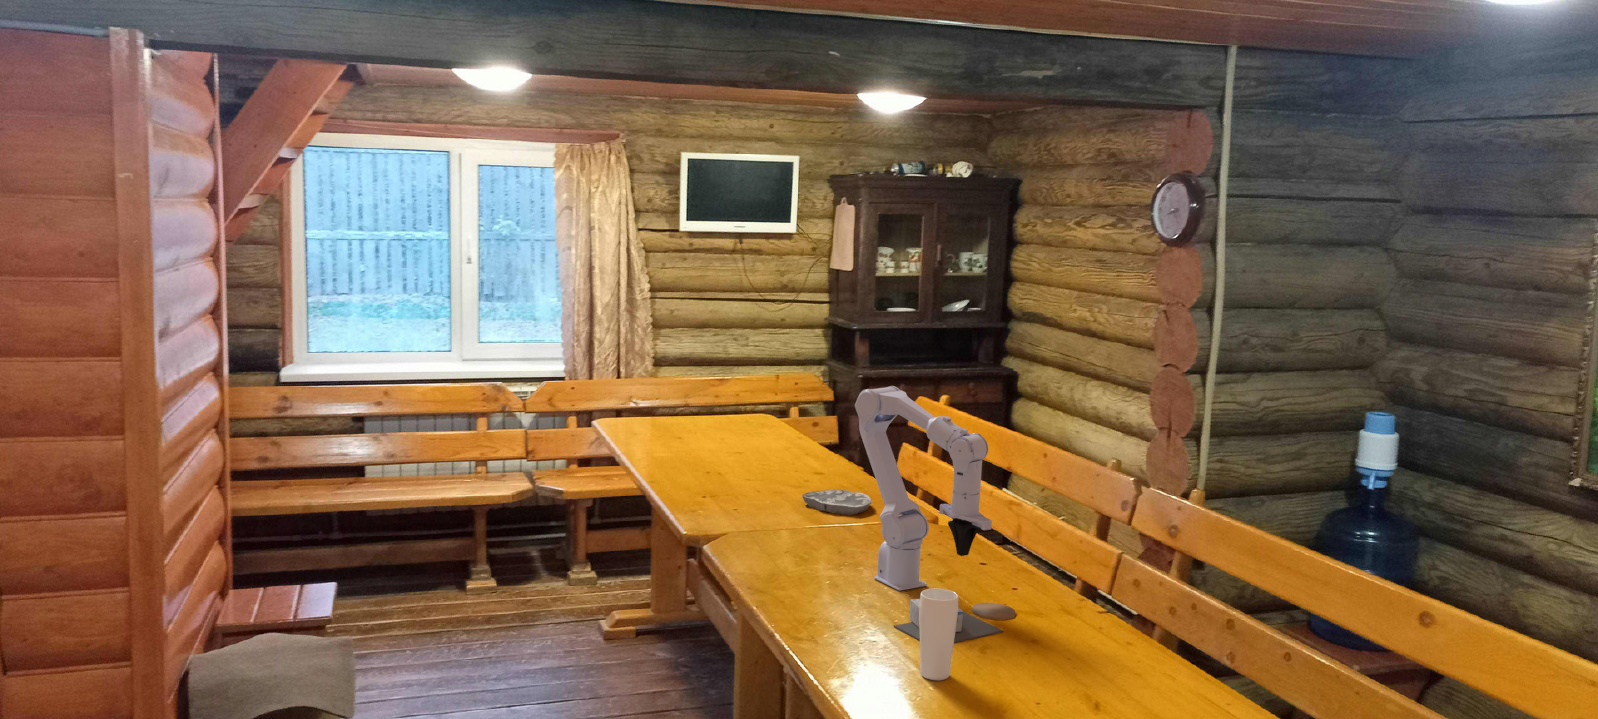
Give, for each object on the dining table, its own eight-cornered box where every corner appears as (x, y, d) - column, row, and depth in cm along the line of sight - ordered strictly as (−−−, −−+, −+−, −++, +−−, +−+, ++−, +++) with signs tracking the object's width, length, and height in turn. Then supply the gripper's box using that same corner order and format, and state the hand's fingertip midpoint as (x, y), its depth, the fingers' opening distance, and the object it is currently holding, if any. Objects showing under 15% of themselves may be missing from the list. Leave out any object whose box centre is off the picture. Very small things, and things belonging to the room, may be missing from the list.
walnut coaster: (962, 610, 237) (962, 606, 237) (994, 603, 242) (994, 600, 241) (992, 624, 229) (992, 620, 229) (1024, 617, 234) (1024, 613, 234)
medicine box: (908, 619, 228) (925, 635, 220) (909, 598, 228) (926, 613, 219) (944, 616, 230) (962, 632, 222) (946, 595, 230) (963, 610, 222)
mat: (893, 627, 225) (893, 625, 224) (963, 612, 234) (963, 611, 234) (932, 647, 214) (932, 646, 214) (1003, 631, 224) (1003, 630, 224)
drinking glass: (950, 668, 205) (955, 588, 203) (957, 683, 198) (961, 601, 196) (913, 667, 205) (917, 587, 203) (918, 682, 198) (922, 600, 196)
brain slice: (884, 507, 318) (885, 497, 317) (855, 520, 303) (855, 509, 303) (824, 496, 328) (824, 486, 327) (793, 507, 314) (793, 497, 313)
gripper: (929, 485, 242) (926, 547, 243) (974, 501, 229) (970, 566, 231) (955, 482, 245) (951, 543, 247) (1000, 498, 233) (996, 562, 235)
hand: (962, 554), depth 239 cm, fingers closed
